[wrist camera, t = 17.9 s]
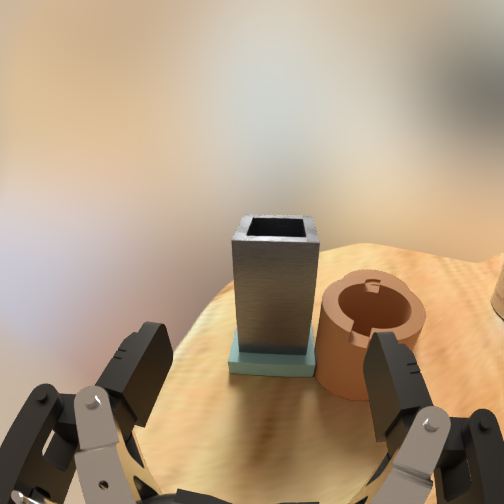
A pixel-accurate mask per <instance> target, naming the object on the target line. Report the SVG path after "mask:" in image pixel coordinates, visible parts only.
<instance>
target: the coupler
mask: <svg viewBox="0 0 504 504" xmlns="http://www.w3.org/2000/svg"><path fill="white" fill-rule="evenodd" d="M319 245H320V242H319V238H318V235H317V231H316V227H315V224H314V221H313V217H312V216H291V215H244V216H243V219H242V220H241V222H240V224H239V226H238V229H237V230H236V232H235V234H234V236H233V238H232V256H233V273H234V290H235V305H236V319H237V333H238V346H239V352H246V353H260V354H280V355H306V354H307V348H308V341H309V334H310V327H311V320H312V312H313V304H314V296H315V287H316V278H317V268H318V257H319Z"/></svg>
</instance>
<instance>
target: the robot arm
mask: <svg viewBox="0 0 504 504" xmlns="http://www.w3.org/2000/svg"><path fill="white" fill-rule="evenodd" d="M491 303H492V306H493V308H494V309H495V311H496V312H497V313H498V314H499V315H500V316H501V317H502V318H503V319H504V264H503V267H502V270H501V273H500V276H499V278H498V281H497V284H496V287H495V289H494V292H493V295H492V297H491ZM172 362H173V350H172V347H171V343H170V340H169V336H168V333H167V329H166V326H165V325H164V324H161V323H153V322H145V323H144V324H143V325H142V327H141V329H140V330H139V332H138V333H136V332H133V333H132V334H131V335H129V336H128V337H127V338H125V339H124V340H123V342H122V343H121V345H120V347H119V348H118V351H116V353H115V354H114V357H113V358H112V359H111V360H110V362H109V364H108V365H107V367H106V368H105V370H104V371H103V373H102V375H101V376H100V378H99V379H98V381H97V383H96V384H95V385H94V386H88V387H85V388H83V389H82V390H80V391H79V392H78V393H77V394H60V393H58V392H57V390H56V389H55V387H54V386H52V385H51V384H41V385H39V386H37V387H36V388H35V389H34V390H33V391H32V392H31V394H30V395H29V397H28V399H27V400H26V402H25V404H24V405H23V407H22V409H21V410H20V412H19V414H18V415H17V417H16V419H15V421H14V422H13V424H12V426H11V428H10V430H9V431H8V433H7V435H6V437H5V439H4V441H3V443H2V445H1V447H0V504H63V503H64V500H65V497H66V495H67V492H68V489H69V486H70V484H71V481H72V478H73V476H74V473H75V471H76V468H77V472H78V476H79V481H80V485H81V488H82V492H83V495H84V499H85V502H86V504H232V503H229V502H226V501H223V500H221V499H218V498H216V497H213V496H210V495H205V494H200V493H195V492H190V491H186V490H182V489H177V493H176V494H162V491H161V489H160V487H159V486H158V484H157V482H156V480H155V479H154V478H153V476H152V475H151V473H150V471H149V469H148V467H147V464H146V462H145V459H144V457H143V454H142V452H141V449H140V446H139V444H138V441H137V438H136V435H135V433H134V431H133V428H134V425H137V426H141V427H144V428H145V426H146V423H147V421H148V418H149V416H150V414H151V411H152V409H153V407H154V404H155V402H156V400H157V397H158V395H159V393H160V390H161V388H162V386H163V383H164V381H165V379H166V377H167V374H168V372H169V370H170V367H171V365H172ZM363 374H364V379H365V383H366V388H367V393H368V398H369V403H370V408H371V413H372V418H373V424H374V430H375V436H376V442H383V441H386V443H387V448H388V449H387V451H386V452H385V454H384V456H383V457H382V459H381V461H380V462H379V464H378V465H377V467H376V468H375V470H374V471H373V473H372V474H371V476H370V477H369V479H368V480H367V482H366V483H365V484H364V486H363V487H362V488H361V489H360V491H359V492H358V493H357V494H356V495H355V496H354V497H353V498H352V499H351V500H350V502H349V503H348V504H424V503H425V501H426V499H427V497H428V495H429V493H430V491H431V489H432V486H433V481H432V480H431V479H430V478H431V475H432V473H433V471H434V478H435V487H436V497H437V504H504V441H503V437H502V434H501V431H500V428H499V425H498V422H497V419H496V417H495V415H494V414H493V413H492V412H491V411H489V410H487V409H478V410H476V411H475V412H474V413H473V414H472V415H471V416H470V417H469V418H458V417H449V416H448V414H447V413H446V412H445V411H444V410H443V409H441V408H439V407H436V406H434V405H433V403H432V400H431V398H430V395H429V392H428V389H427V387H426V384H425V381H424V379H423V376H422V374H421V373H420V369H419V366H418V365H417V361H416V359H415V357H414V354H413V352H412V351H411V350H410V349H409V348H408V347H407V346H406V345H405V344H399V343H398V341H397V338H396V336H395V334H394V332H393V331H387V332H374V333H373V335H372V337H371V341H370V344H369V347H368V350H367V352H366V355H365V358H364V362H363ZM52 430H53V431H54V432H55V433H54V435H53V437H52V439H51V441H50V443H49V446H48V448H47V450H46V452H45V454H44V456H43V455H42V450H43V447H44V445H45V443H46V440H47V438H48V437H49V435H50V433H51V431H52ZM467 460H468V461H467ZM468 465H469V466H468ZM469 470H470V471H469ZM470 475H471V477H470ZM279 504H319V502H300V503H279Z"/></svg>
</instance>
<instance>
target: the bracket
mask: <svg viewBox="0 0 504 504" xmlns="http://www.w3.org/2000/svg"><path fill="white" fill-rule="evenodd" d="M425 318H426V313H425V308H424V306H423V304H422V302H421V301H420V299H419V298H418V297H417V296H416V295H415V294H414V293H413V292H411V291H410V290H409V288H408V286H407V285H406V284H405V283H404V282H403V281H402V280H400V279H399V278H397V277H395V276H393V275H391V274H389V273H385V272H382V271H377V270H357V271H353V272H351V273H349V274H347V275H346V276H344V278H343V279H341V280H338V281H336V282H334V283H332V284H331V285H330V286H329V287H328V288H327V289H326V290H325V292H324V294H323V297H322V304H321V311H320V318H319V324H318V331H317V337H316V343H315V349H314V355H315V369H314V374H315V377H316V378H317V380H318V381H319V383H320V384H321V385H322V386H323V387H324V388H325V389H326V390H328V391H329V392H331V393H332V394H334V395H336V396H338V397H341V398H345V399H349V400H353V401H367V400H369V398H368V393H367V388H366V383H365V379H364V374H363V362H364V358H365V355H366V352H367V350H368V347H369V344H370V341H371V337H372V335H373V333H374V332H387V331H393V332H394V334H395V336H396V338H397V341H398V343H399V344H405V345H406V346H407V347H408V348H409V349H410V350H411V351H413V348H414V346H415V344H416V342H417V339H418V337H419V334H420V332H421V330H422V327H423V325H424V322H425Z"/></svg>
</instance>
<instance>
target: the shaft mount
mask: <svg viewBox="0 0 504 504" xmlns="http://www.w3.org/2000/svg"><path fill="white" fill-rule="evenodd" d="M228 365H229V373H236V374H249V375H264V376H288V377H313V374H314V369H315V355H314V343H313V332H312V321H311V327H310V334H309V341H308V348H307V354H306V355H280V354H260V353H246V352H239V346H238V333H237V327H236V331H235V335H234V339H233V343H232V347H231V352H230V356H229V360H228Z"/></svg>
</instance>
